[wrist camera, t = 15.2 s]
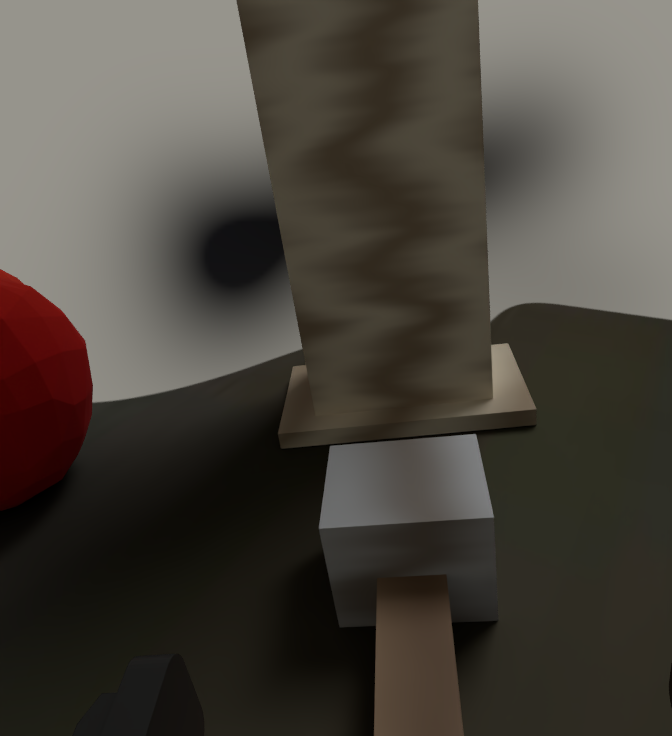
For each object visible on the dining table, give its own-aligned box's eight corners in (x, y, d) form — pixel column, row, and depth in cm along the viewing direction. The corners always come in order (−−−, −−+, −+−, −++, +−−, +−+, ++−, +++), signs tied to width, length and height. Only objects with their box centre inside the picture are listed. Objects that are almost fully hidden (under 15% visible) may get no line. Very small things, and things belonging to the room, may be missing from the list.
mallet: (291, 1226, 12) (235, 1143, 10) (346, 536, 29) (330, 446, 27) (615, 1253, 12) (633, 1168, 9) (481, 528, 28) (475, 433, 26)
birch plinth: (281, 448, 36) (103, -339, 21) (295, 379, 43) (170, -249, 28) (536, 424, 34) (534, -443, 20) (508, 357, 42) (491, -320, 27)
